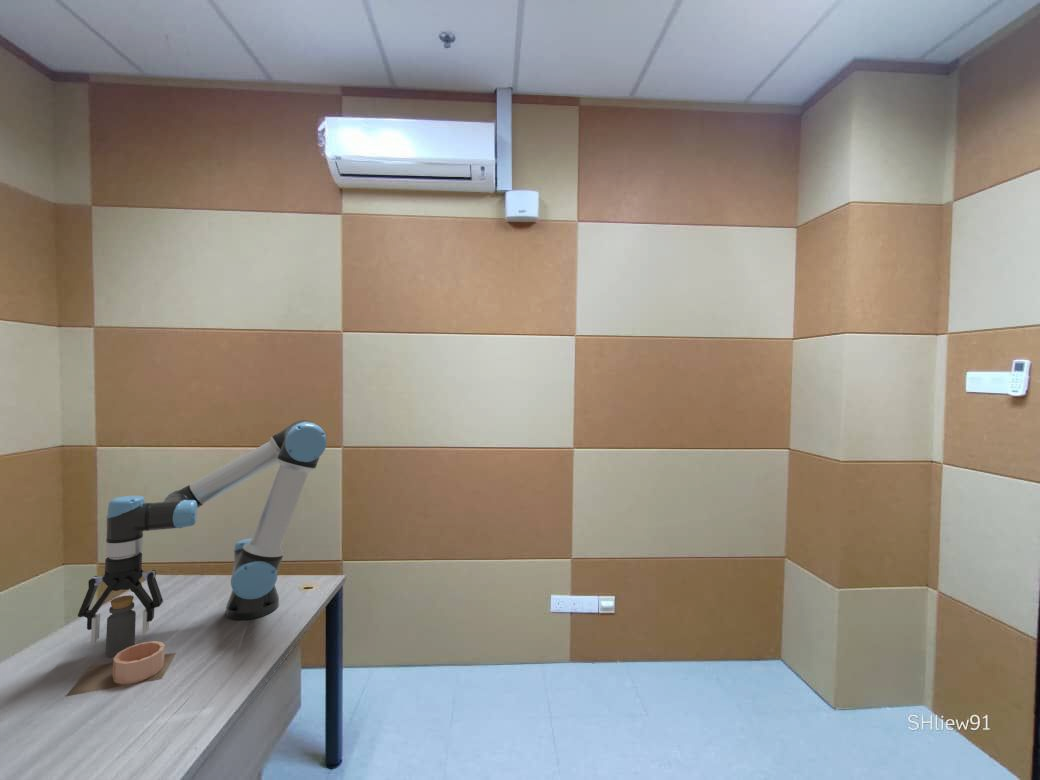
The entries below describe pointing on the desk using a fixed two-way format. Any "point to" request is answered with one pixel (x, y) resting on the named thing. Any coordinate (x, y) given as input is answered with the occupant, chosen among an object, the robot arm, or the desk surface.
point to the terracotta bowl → (138, 662)
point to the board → (109, 677)
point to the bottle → (120, 625)
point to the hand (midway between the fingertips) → (120, 636)
